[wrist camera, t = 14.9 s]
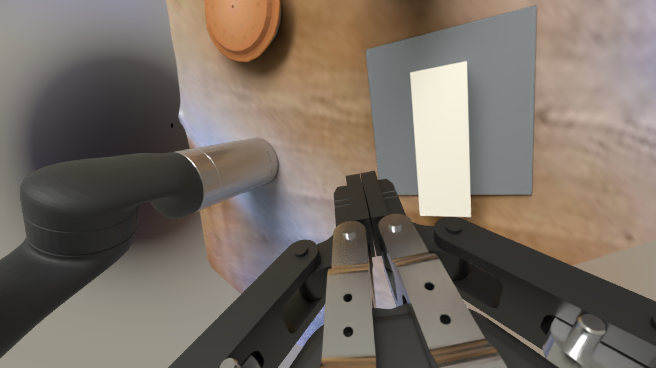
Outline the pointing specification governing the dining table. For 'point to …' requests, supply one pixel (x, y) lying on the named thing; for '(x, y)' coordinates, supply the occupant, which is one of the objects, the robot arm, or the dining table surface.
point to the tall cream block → (442, 140)
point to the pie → (242, 26)
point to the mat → (483, 100)
